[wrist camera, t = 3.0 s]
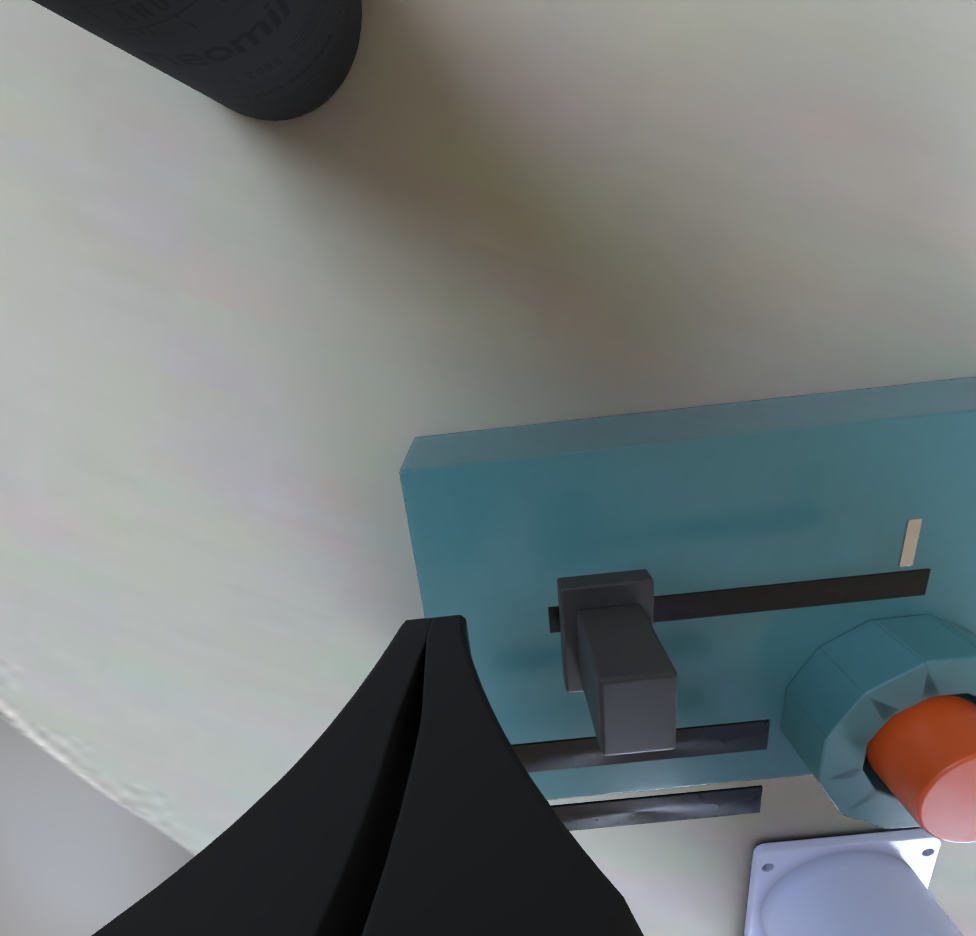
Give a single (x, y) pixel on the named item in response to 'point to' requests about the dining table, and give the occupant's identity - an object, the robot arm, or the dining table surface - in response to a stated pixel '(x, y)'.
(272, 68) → the drinking cup
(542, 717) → the teal control box
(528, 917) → the robot arm
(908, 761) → the button
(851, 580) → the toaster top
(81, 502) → the dining table surface
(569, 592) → the slider
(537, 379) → the dining table surface
